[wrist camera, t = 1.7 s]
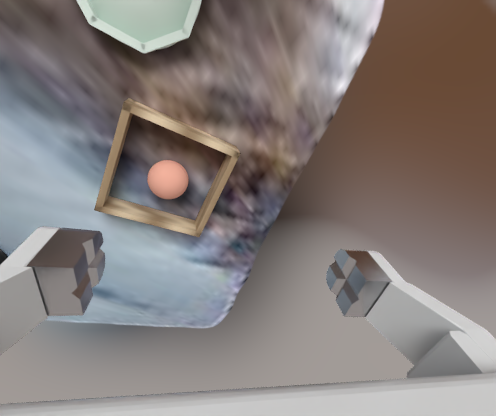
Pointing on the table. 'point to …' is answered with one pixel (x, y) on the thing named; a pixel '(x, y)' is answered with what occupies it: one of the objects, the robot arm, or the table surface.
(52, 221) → the table surface
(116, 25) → the saucer
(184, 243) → the table surface
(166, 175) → the ball
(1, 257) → the milk frother
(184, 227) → the wooden square frame
